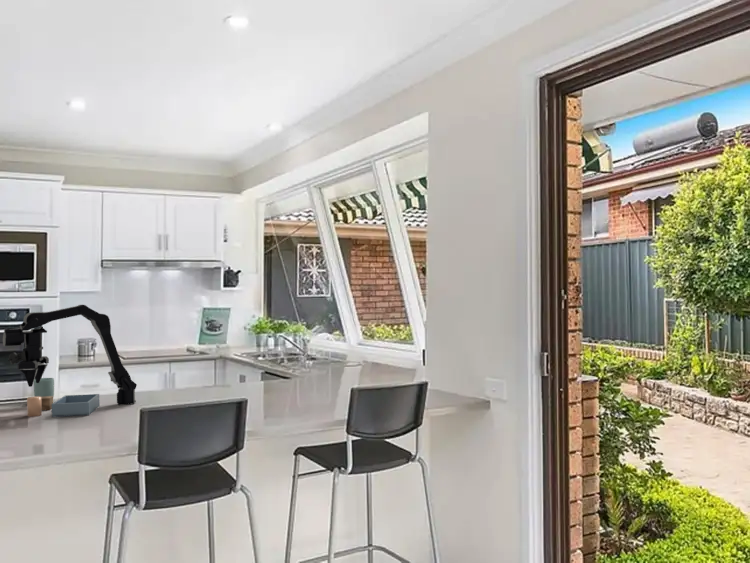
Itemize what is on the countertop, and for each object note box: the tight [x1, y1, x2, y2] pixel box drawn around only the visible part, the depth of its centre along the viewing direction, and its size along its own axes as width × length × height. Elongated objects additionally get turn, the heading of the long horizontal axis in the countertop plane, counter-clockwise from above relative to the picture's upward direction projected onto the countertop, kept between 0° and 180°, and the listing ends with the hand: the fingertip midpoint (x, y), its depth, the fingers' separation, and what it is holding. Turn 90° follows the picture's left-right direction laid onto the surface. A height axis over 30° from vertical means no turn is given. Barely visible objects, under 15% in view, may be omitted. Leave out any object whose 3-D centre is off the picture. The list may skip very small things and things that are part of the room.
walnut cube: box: [41, 396, 54, 412], centre depth 275 cm, size 5×5×5 cm
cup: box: [33, 377, 55, 398], centre depth 292 cm, size 8×8×10 cm
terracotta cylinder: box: [26, 395, 43, 418], centre depth 263 cm, size 5×5×7 cm
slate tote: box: [51, 393, 101, 418], centre depth 270 cm, size 13×19×5 cm
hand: (34, 384), depth 264 cm, fingers open, 9 cm apart
